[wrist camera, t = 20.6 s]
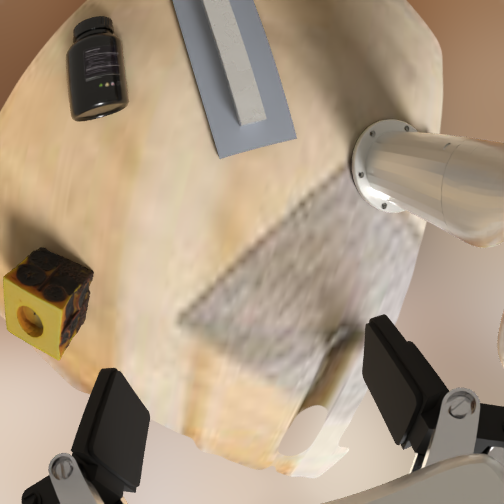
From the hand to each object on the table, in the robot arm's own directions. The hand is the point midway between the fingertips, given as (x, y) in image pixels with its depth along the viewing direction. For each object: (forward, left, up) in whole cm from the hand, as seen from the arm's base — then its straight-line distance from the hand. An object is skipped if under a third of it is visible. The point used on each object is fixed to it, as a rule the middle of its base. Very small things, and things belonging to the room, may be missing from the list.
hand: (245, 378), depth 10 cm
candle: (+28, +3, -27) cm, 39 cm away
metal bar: (-5, -20, -25) cm, 32 cm away
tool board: (-5, -20, -26) cm, 33 cm away
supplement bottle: (+11, -15, -23) cm, 30 cm away
